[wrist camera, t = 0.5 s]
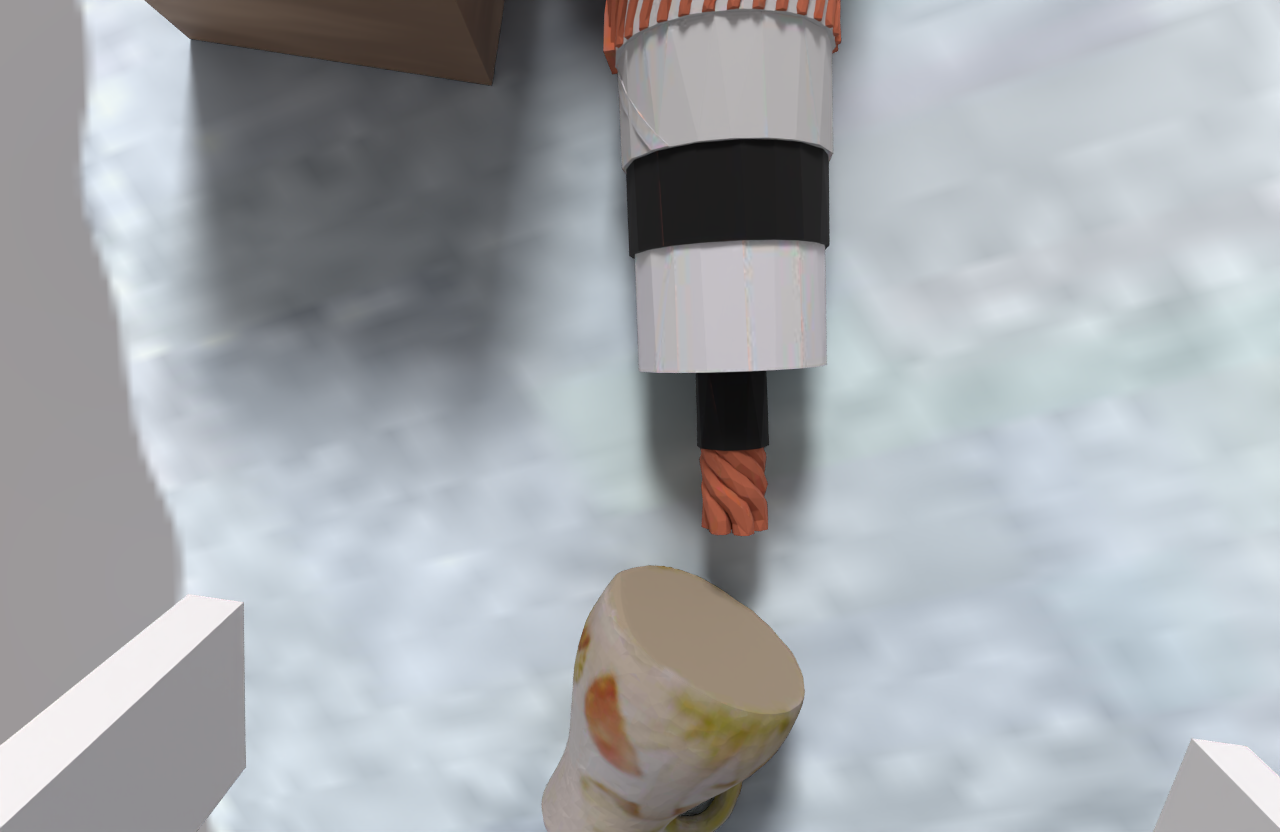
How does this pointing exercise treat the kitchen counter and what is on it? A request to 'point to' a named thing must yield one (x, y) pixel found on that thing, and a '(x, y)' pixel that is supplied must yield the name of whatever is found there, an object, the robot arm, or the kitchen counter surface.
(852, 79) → the kitchen counter surface
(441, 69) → the plate
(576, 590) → the kitchen counter surface
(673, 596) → the mug
